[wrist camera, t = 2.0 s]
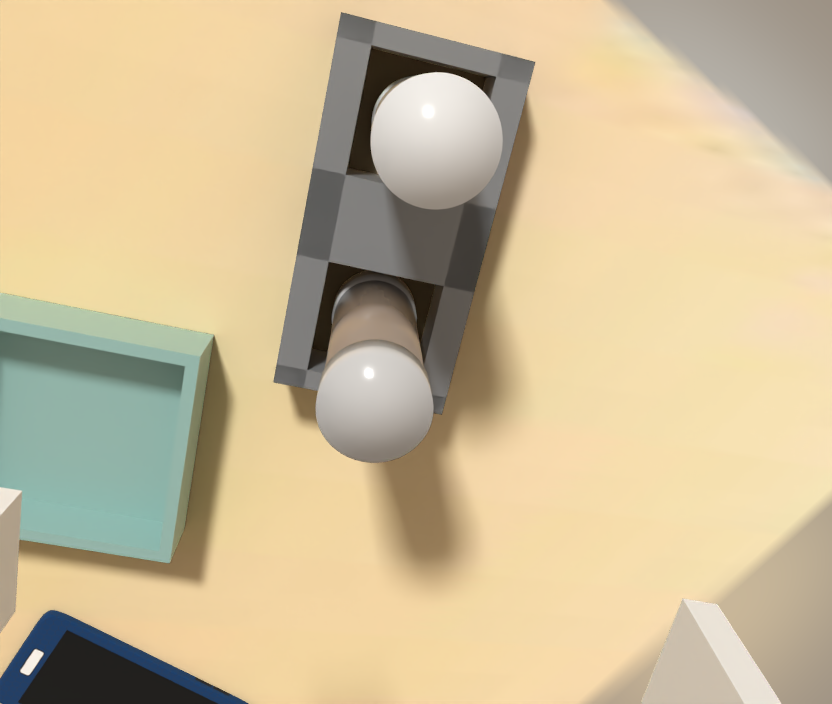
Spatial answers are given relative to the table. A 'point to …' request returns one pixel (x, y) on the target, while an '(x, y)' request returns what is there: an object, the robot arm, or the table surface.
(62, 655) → the cell phone
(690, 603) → the robot arm
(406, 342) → the fuse
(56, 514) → the parts tray
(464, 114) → the white rounded cylinder
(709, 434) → the table surface
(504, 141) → the block
